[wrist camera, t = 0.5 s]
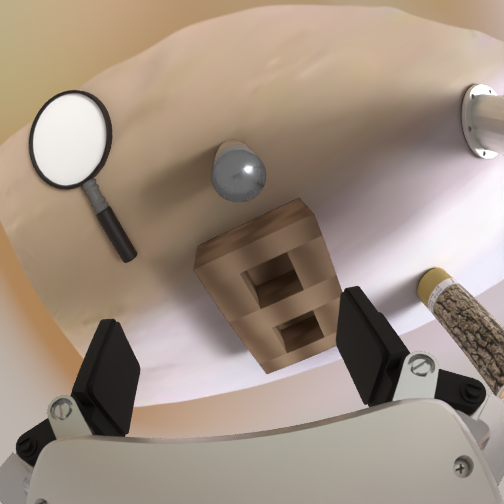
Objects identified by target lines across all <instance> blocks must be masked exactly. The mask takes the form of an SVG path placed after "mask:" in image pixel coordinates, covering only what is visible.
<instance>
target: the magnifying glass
mask: <svg viewBox="0 0 504 504" xmlns="http://www.w3.org/2000/svg"><path fill="white" fill-rule="evenodd" d="M111 144H112V124H111V120H110V117H109V114H108V111H107V110H106V108H105V106H104V105H103V103H102V102H101V101H100V100H99V99H98V98H97V97H95V96H94V95H92V94H90V93H88V92H84V91H78V90H71V91H65V92H62V93H59V94H57V95H55V96H54V97H52V98H51V99H50V100H48V101H47V102H46V103H45V104H44V105H43V107H42V108H41V109H40V111H39V112H38V114H37V116H36V117H35V119H34V122H33V125H32V128H31V132H30V139H29V150H30V156H31V160H32V163H33V166H34V168H35V170H36V172H37V173H38V175H39V176H40V177H41V178H42V179H43V180H44V181H45V182H46V183H48V184H49V185H51V186H53V187H56V188H60V189H73V188H76V187H79V186H81V185H83V187H82V188H83V190H85V194H86V195H88V197H89V199H90V201H91V203H92V207H93V208H95V209H94V211H95V212H96V213H97V214H96V216H97V218H98V220H99V222H100V223H101V225H102V227H103V229H104V230H105V232H106V234H107V235H108V237H109V239H110V241H111V242H112V244H113V246H114V247H115V249H116V250H117V252H118V254H119V255H120V257H121V259H122V260H123V262H124V263H127V262H130V261H131V260H133V259H134V258H135V257H136V256H137V252H136V250H135V249H134V247H133V245H132V244H131V242H130V240H129V239H128V237H127V235H126V234H125V232H124V230H123V228H122V227H121V225H120V223H119V221H118V220H117V218H116V216H115V214H114V212H113V210H112V209H111V207H110V206H108V203H107V202H105V197H103V196H102V195H101V193H100V191H99V189H98V188H99V186H98V184H96V180H95V179H93V178H94V177H95V176H96V175H97V174H98V173H99V172H100V170H101V169H102V168H103V166H104V165H105V162H106V160H107V158H108V155H109V152H110V149H111Z"/></svg>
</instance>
